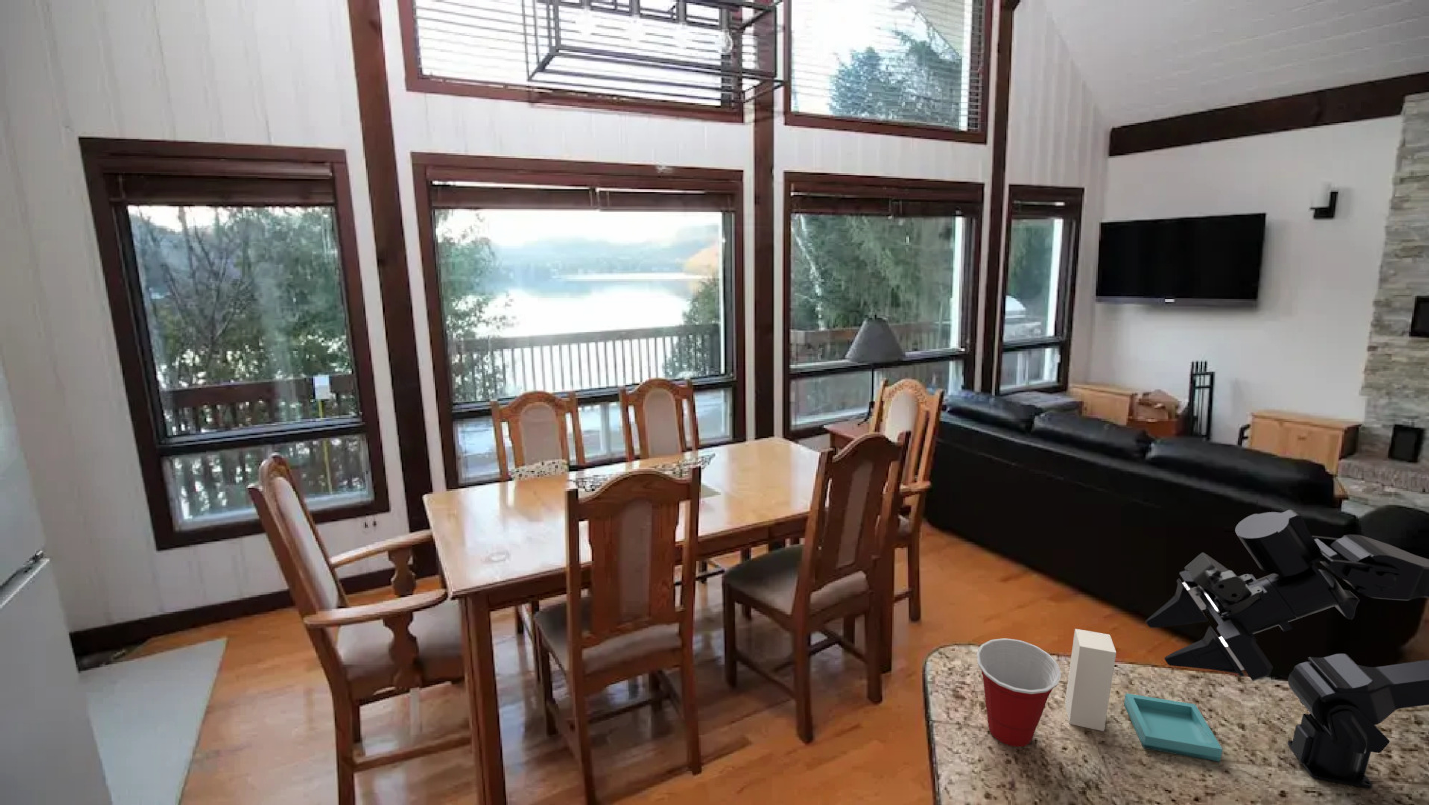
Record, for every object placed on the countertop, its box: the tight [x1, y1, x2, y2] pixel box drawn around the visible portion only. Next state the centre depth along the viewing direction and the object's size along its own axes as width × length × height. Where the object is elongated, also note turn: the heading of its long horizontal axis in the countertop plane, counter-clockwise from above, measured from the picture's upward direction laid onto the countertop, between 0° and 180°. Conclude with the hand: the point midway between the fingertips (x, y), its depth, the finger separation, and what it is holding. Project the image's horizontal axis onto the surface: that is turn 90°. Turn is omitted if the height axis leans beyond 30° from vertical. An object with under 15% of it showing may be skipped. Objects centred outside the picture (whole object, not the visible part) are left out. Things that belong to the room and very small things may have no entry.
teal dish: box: [1123, 692, 1223, 763], centre depth 93 cm, size 9×9×2 cm
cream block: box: [1064, 628, 1117, 732], centre depth 95 cm, size 4×4×13 cm
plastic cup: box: [976, 637, 1062, 748], centre depth 92 cm, size 11×11×12 cm
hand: (1156, 642), depth 91 cm, fingers open, 9 cm apart
